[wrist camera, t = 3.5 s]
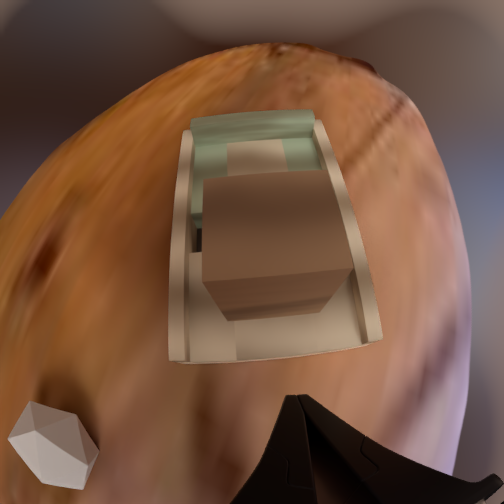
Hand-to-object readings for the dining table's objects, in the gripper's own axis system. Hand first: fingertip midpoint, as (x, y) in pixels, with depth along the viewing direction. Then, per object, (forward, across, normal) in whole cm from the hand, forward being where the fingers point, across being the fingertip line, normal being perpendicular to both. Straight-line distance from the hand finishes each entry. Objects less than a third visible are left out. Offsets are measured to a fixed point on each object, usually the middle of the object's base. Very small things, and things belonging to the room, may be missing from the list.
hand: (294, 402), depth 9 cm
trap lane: (+18, 0, +2) cm, 19 cm away
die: (+6, -18, -16) cm, 25 cm away
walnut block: (+13, 0, 0) cm, 13 cm away
